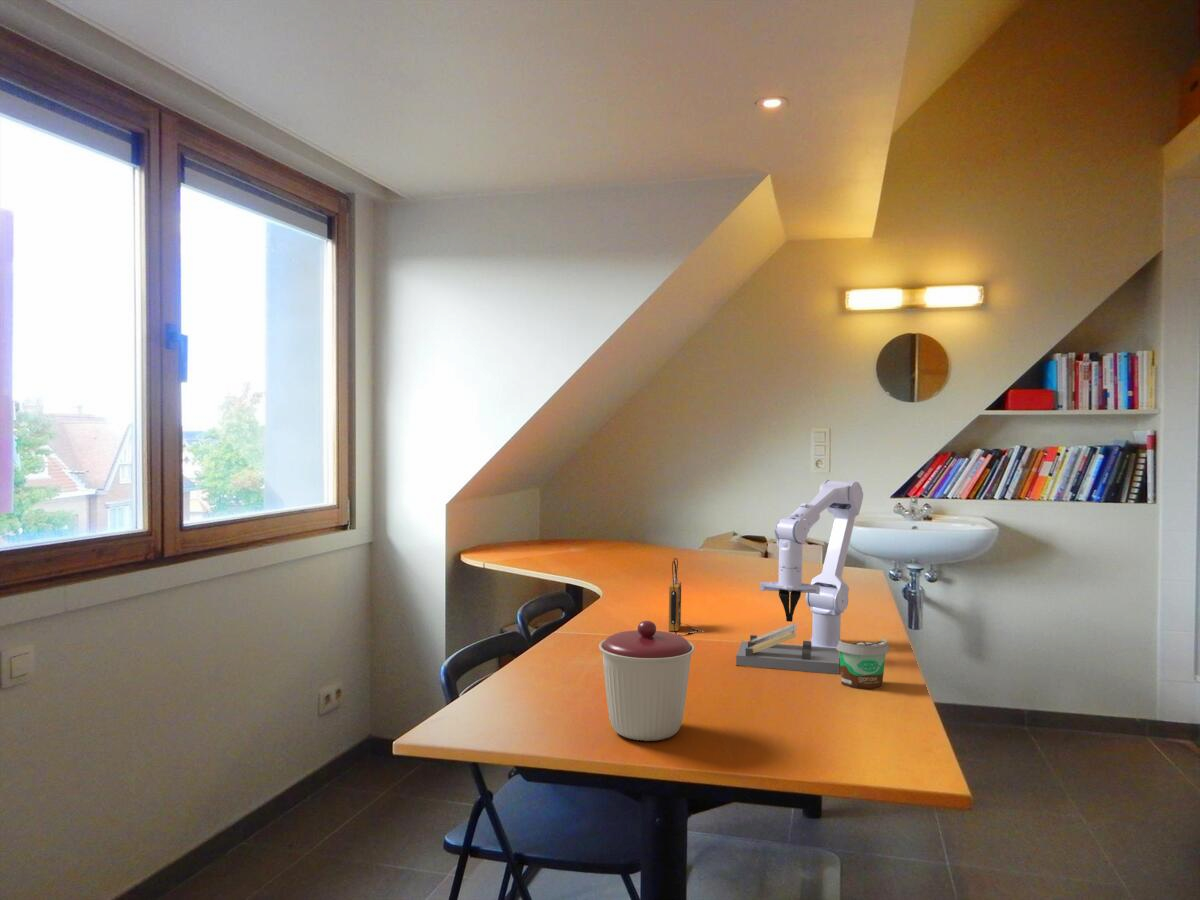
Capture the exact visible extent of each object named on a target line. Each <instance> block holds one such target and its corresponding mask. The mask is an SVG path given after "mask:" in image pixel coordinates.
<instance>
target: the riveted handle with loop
mask: <svg viewBox="0 0 1200 900" xmlns="http://www.w3.org/2000/svg"><path fill="white" fill-rule="evenodd" d="M671 564H672V565H671V571H672V581H671V583H670V584H669V585H668V632H674V631H678V630H680V628H681V626H682V624H681V623H682V621H681V619H682V581H678V566H679V560H678V558H677V557H676V558H673V561H672V563H671ZM690 628H692V629H691V630H693V629H695V630H694V631H690V632H687V633H686V634H688V633H693V634H694V632H695V633H697V631H696V630H698V632H701V631H702V632H701V633H704V632H705V631H703V630H701V629H699V628H695V627H690V626H689V628H688V629H690ZM678 632H679V631H678ZM674 634H676V635H677V634H678V633H677V632H674Z"/></svg>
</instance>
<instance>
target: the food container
mask: <svg viewBox="0 0 1200 900" xmlns="http://www.w3.org/2000/svg"><path fill="white" fill-rule="evenodd" d="M841 641H842V640H841ZM841 641H839V644H837V649H836V650H838V651H839V670H840V677H841V678H840V679H841V681H840V682H841V685H842V686H844V687H848V688H849V689H857V690H867V691H870V690H872V691H873V690H877V689H880V688H882V686H883V682H884V681H883V680H884V672H885V671H884V670H885V664H886V656H887V655H886V654H888V653H889V652H890V648H889V644H888V641H887V639H886V638H884V637H882V638H881V641H873V642H871V641H857V642H853V643H848V642H843V641H842V642H841Z"/></svg>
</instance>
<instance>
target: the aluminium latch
mask: <svg viewBox="0 0 1200 900" xmlns="http://www.w3.org/2000/svg"><path fill="white" fill-rule="evenodd" d="M793 630H795V631H796V630H798V625H797V623H796V622H794V623H791V624H788V625H786V626H783V627H781V628H778V629H774V630H773V631H769V632H767V633H765V634H762V635H760V636H757V637H756V638H754V639H752V640H751V641H754V642H755V645H756V644H759V643H761V642H764V641H767V640H769V639H772V638H775V637H777V636H780V635H782V634H785V633H788V632H790V631H793Z"/></svg>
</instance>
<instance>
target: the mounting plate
mask: <svg viewBox="0 0 1200 900" xmlns="http://www.w3.org/2000/svg"><path fill="white" fill-rule="evenodd" d="M749 636H750V637H749V640H748V641H745V640H744V641H742V640H741V642H740V645H739V647H738V650H737V652H736V656H735V658H736V661H735V666H736V665H743V666H742V667H745V666H752V667H751V668H757V667H762V668H761V669H769V668H775V669H774V670H781V669H785V670H784V671H794V670H796V671H797V672H805V673H806V672H807V673H820V674H831V675H840V656H839V651H838V650H836V649H837V648H826V647H812V646H811V640H803V642H802V645H800V644H799V645H798V644H797V645H796V644H784V643H783V644H782V643H779V644H777V645H774V646H771V647H769V648H766V649H763V650H761V651H758V652H755V653H753V648H749V647H751V646H753V645H755V642H754V641H751V640H752V639H754V638H756V637H758V635H754V634H750V635H749ZM796 671H795V672H796Z"/></svg>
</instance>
